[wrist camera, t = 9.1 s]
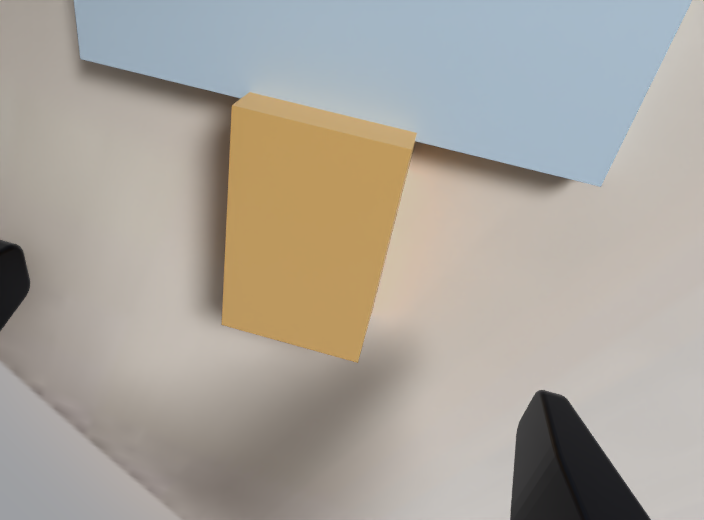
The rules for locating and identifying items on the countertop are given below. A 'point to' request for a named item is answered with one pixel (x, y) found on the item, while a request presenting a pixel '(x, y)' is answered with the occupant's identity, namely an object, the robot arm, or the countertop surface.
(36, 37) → the countertop surface
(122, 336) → the countertop surface
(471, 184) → the countertop surface
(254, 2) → the lid
